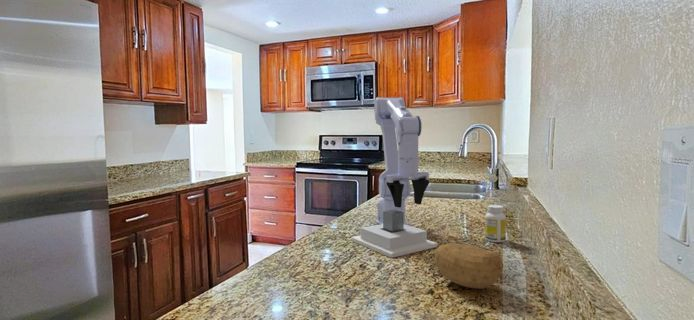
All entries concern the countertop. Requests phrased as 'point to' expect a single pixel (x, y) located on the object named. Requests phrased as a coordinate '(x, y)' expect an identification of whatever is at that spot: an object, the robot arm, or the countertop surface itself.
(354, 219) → the countertop surface
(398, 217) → the grey tall block
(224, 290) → the countertop surface
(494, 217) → the supplement bottle
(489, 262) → the potato
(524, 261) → the countertop surface
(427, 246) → the bracket board
